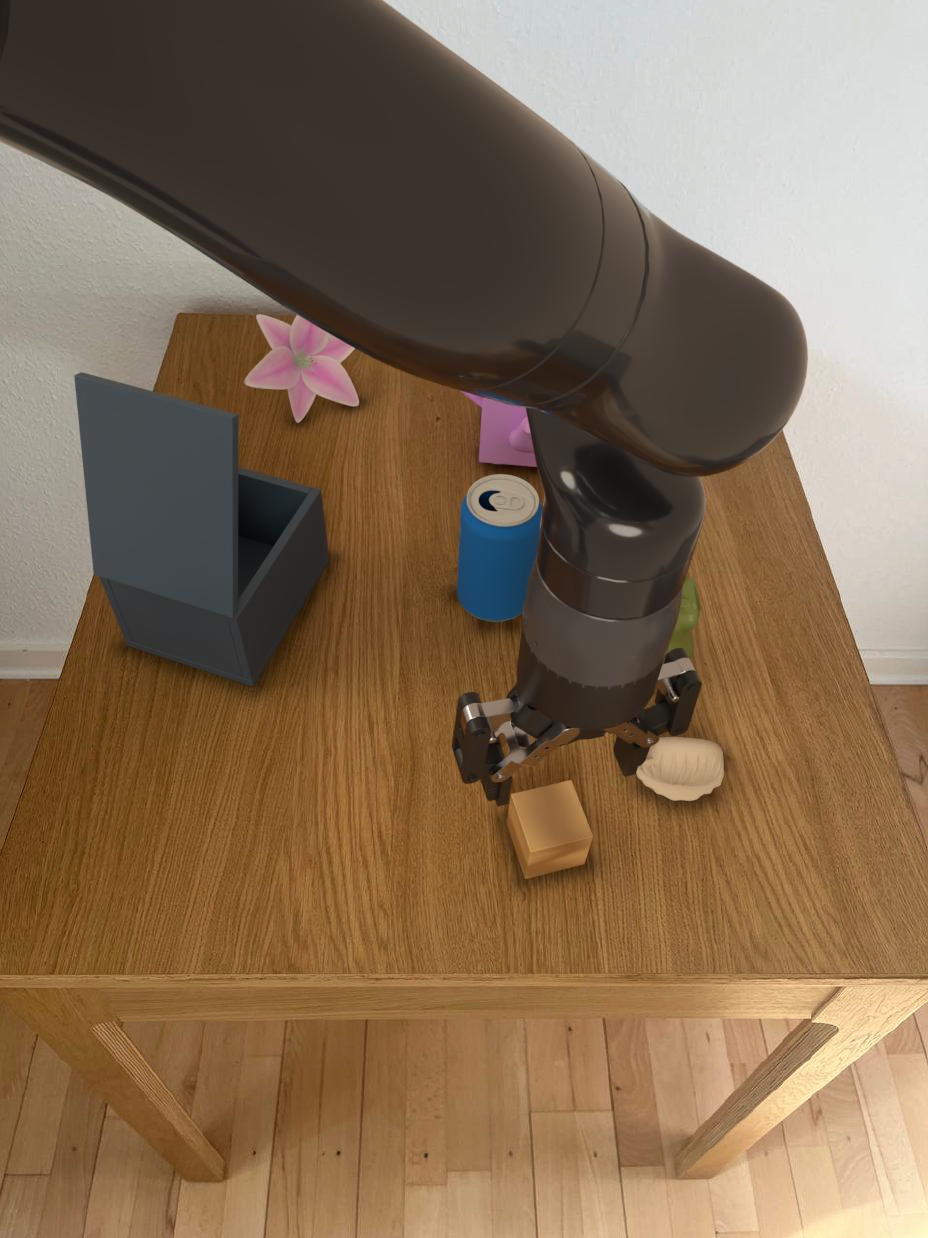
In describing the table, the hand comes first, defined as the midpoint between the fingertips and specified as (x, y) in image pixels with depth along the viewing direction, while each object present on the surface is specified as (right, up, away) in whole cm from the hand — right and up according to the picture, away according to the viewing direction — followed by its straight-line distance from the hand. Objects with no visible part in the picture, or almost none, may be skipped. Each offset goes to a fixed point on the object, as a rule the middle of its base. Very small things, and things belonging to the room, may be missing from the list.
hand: (562, 778), depth 60 cm
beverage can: (-4, +12, +22) cm, 25 cm away
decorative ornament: (+9, -2, +12) cm, 15 cm away
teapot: (0, +28, +35) cm, 45 cm away
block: (0, -6, +8) cm, 10 cm away
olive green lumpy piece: (+10, +6, +18) cm, 21 cm away
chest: (-26, +12, +21) cm, 35 cm away
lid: (-27, +19, +5) cm, 33 cm away
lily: (-23, +33, +38) cm, 55 cm away
